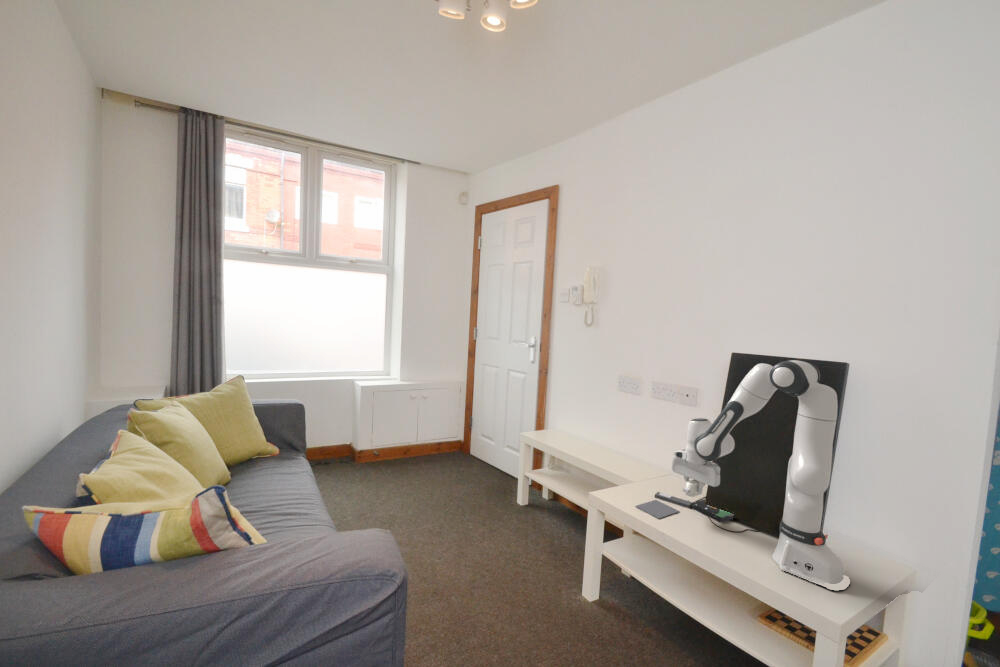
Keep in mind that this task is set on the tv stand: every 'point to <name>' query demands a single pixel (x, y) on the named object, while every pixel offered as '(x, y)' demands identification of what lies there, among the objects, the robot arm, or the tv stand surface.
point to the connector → (692, 488)
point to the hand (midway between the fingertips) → (693, 489)
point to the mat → (657, 509)
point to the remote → (673, 499)
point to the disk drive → (711, 511)
